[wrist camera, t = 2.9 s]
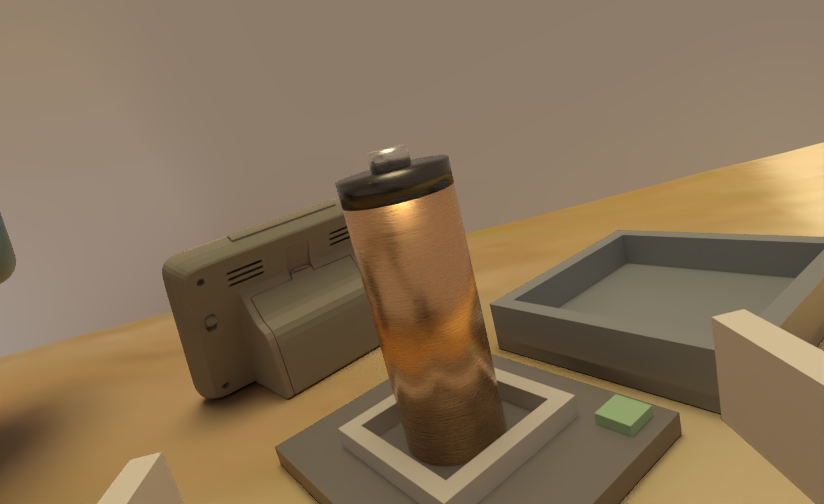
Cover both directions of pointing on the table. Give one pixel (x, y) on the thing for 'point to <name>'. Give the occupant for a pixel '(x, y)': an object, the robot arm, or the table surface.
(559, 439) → the checker pad
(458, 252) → the cell
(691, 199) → the table surface
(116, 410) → the table surface
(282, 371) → the digital clock
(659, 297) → the tray
